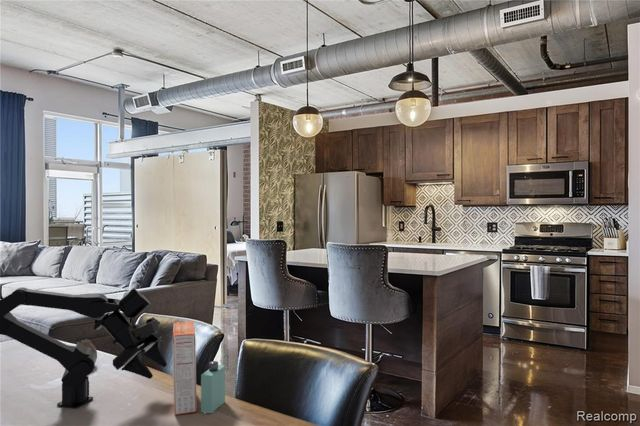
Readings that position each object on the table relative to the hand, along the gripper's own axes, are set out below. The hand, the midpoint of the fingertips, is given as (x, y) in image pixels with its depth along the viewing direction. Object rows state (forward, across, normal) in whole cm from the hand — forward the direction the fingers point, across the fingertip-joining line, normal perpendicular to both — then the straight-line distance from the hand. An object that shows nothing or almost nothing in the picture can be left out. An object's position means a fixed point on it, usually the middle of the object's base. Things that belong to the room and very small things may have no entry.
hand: (159, 371), depth 130 cm
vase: (-19, +23, +31) cm, 43 cm away
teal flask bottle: (+17, -3, -6) cm, 19 cm away
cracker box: (+11, -2, 0) cm, 12 cm away
